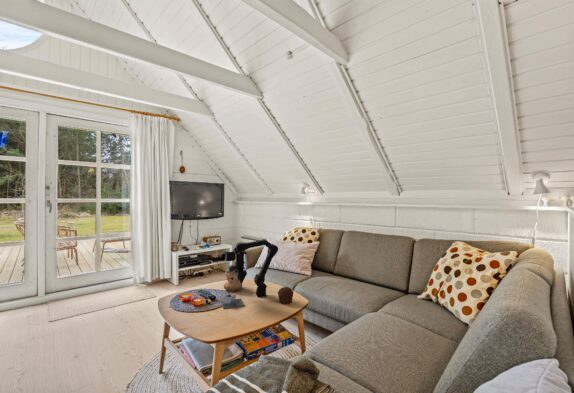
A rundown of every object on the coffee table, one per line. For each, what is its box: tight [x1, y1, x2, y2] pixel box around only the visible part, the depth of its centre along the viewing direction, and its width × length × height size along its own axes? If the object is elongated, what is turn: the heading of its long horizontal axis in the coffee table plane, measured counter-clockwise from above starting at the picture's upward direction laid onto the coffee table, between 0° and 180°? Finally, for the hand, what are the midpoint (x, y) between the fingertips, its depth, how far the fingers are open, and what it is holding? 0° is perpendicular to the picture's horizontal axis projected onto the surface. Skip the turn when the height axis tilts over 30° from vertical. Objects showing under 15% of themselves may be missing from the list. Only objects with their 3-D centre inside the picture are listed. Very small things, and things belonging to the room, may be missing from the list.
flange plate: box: [220, 297, 245, 310], centre depth 197 cm, size 14×12×5 cm
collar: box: [222, 293, 237, 305], centre depth 196 cm, size 6×6×5 cm
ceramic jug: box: [223, 269, 243, 292], centre depth 227 cm, size 18×14×14 cm
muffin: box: [277, 286, 294, 305], centre depth 201 cm, size 12×11×10 cm
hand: (240, 281), depth 207 cm, fingers open, 9 cm apart
